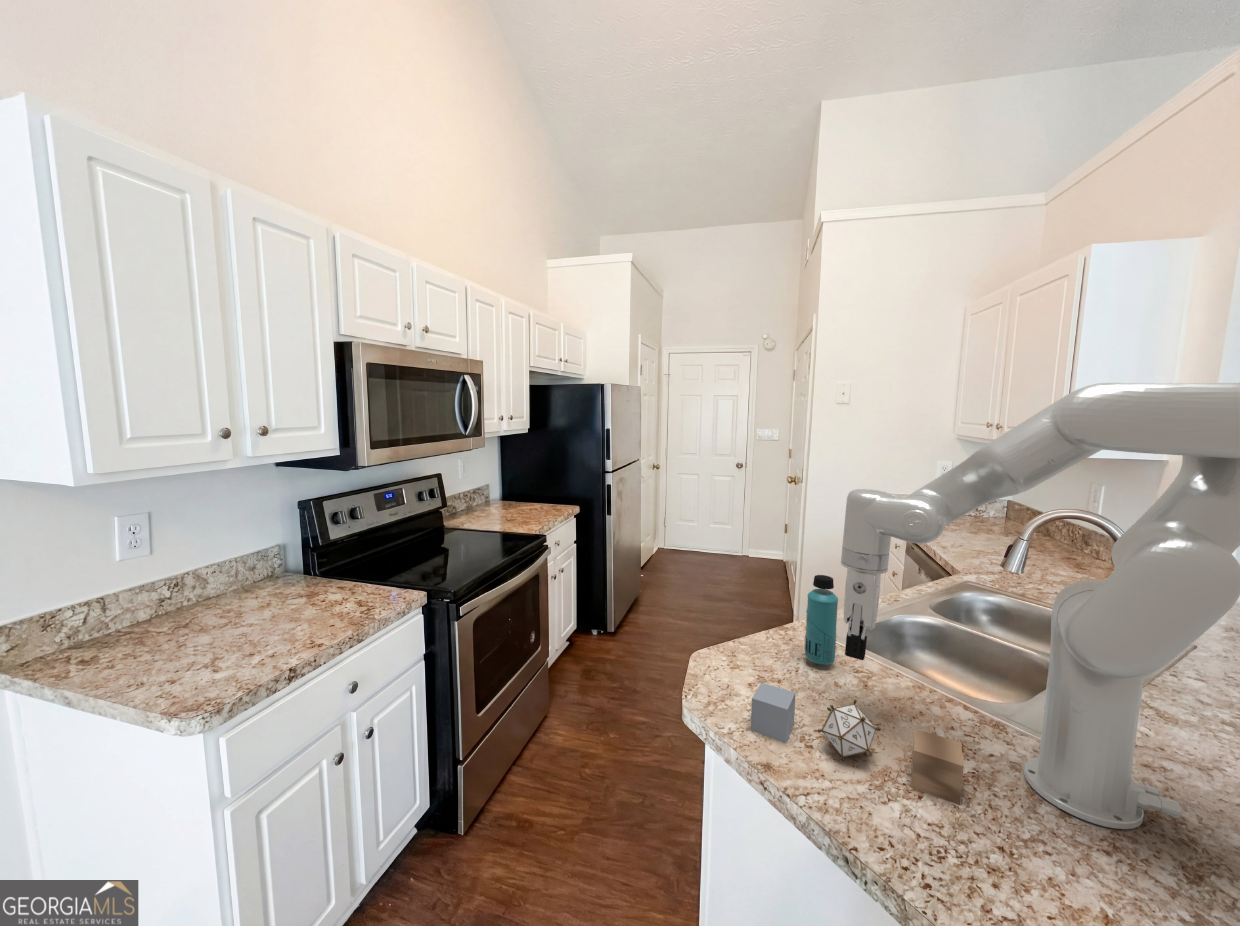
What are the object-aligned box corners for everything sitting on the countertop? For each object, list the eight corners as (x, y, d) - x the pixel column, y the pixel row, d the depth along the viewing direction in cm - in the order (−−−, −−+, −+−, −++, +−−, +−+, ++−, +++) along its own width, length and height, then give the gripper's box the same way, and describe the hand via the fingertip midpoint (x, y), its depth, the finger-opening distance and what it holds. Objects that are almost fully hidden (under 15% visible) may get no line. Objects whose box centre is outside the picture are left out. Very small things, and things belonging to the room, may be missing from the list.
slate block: (793, 724, 86) (795, 692, 85) (785, 743, 81) (787, 709, 80) (760, 713, 89) (761, 682, 89) (750, 730, 84) (751, 698, 84)
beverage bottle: (837, 662, 108) (842, 575, 106) (832, 675, 103) (837, 583, 101) (806, 654, 112) (811, 569, 110) (800, 666, 106) (805, 577, 104)
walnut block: (957, 779, 73) (960, 742, 73) (960, 805, 68) (963, 766, 68) (911, 763, 77) (914, 728, 76) (910, 788, 72) (913, 750, 71)
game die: (858, 781, 78) (894, 760, 71) (807, 755, 79) (837, 733, 72) (858, 727, 84) (890, 703, 78) (810, 704, 86) (838, 679, 79)
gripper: (885, 574, 78) (874, 681, 80) (890, 553, 91) (880, 646, 93) (835, 565, 82) (826, 667, 84) (846, 545, 94) (838, 635, 97)
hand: (854, 656), depth 88 cm, fingers closed
